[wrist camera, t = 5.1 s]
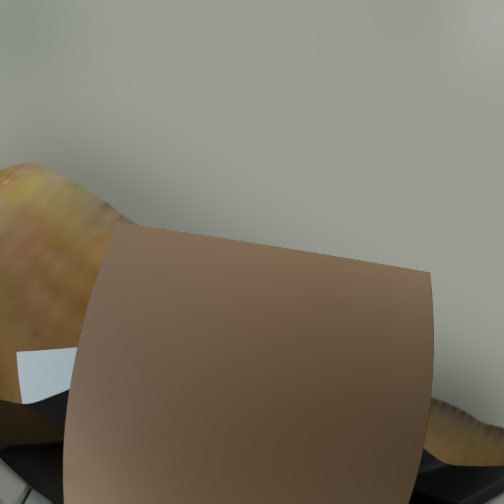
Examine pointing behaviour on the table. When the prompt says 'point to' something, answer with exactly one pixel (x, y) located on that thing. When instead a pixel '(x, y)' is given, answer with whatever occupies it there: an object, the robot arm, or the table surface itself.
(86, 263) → the table surface
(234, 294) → the walnut block
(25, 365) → the slate base
